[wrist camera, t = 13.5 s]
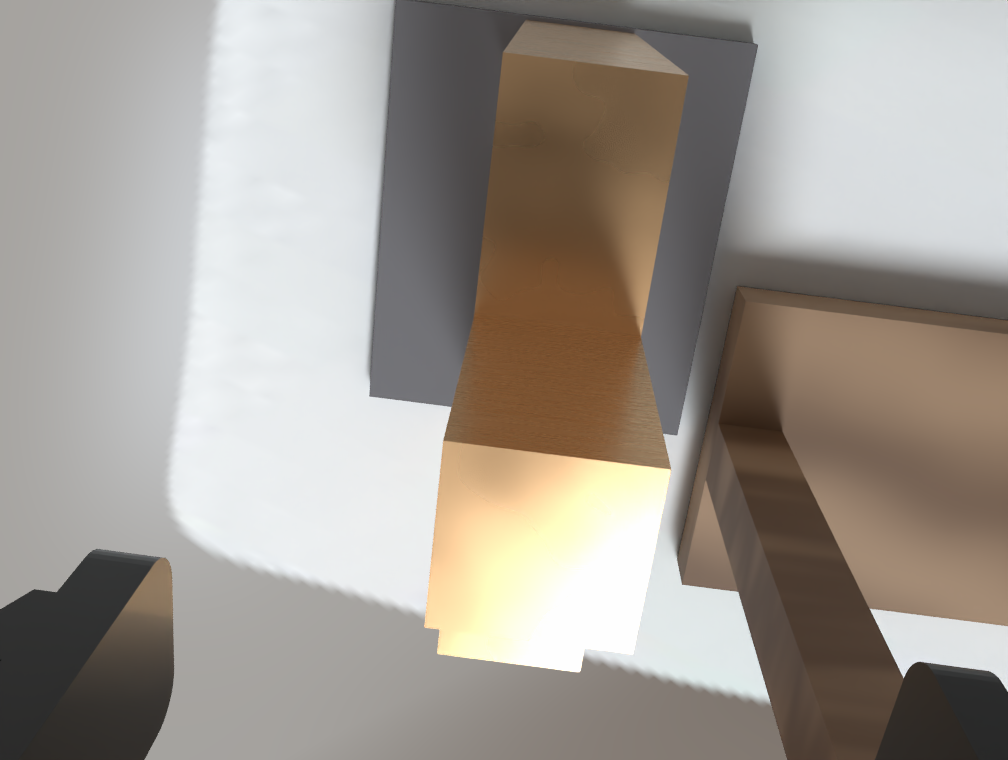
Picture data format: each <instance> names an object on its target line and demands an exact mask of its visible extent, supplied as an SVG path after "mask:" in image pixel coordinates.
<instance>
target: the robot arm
mask: <svg viewBox="0 0 1008 760" xmlns="http://www.w3.org/2000/svg"><path fill="white" fill-rule="evenodd" d="M172 597H173V596H172V572H171V566H170V563H169V561H168V560H167V559H166V558H160V557H153V556H146V555H138V554H131V553H124V552H116V551H109V550H101V549H96V550H93V551H92V552H90V553H89V554H88V555H87V556H86V557H85V558H84V560H83V561H82V562H81V563H80V565H79V566H78V567H77V568H76V570H75V571H74V572H73V573H72V574H71V575H70V577H69V578H68V579H67V581H66V582H65V583H64V584H63V585H62V587H61V588H60V589H59V590H58V592H50V591H42V590H35V589H34V590H32V591H31V592H29V593H27V594H25V595H24V596H22V597H20V598H19V599H17V600H15V601H14V602H12V603H10V604H9V605H7V606H6V607H4V608H2V609H0V760H144V759H145V758H146V756H147V754H148V751H149V750H150V748H151V746H152V744H153V742H154V741H155V739H156V737H157V735H158V733H159V731H160V729H161V726H162V724H163V722H164V719H165V716H166V713H167V709H168V706H169V702H170V697H171V693H172V687H173V678H174V645H173V599H172ZM875 760H1008V692H1007V690H1006V689H1005V687H1004V685H1003V684H1002V682H1001V681H1000V679H999V678H998V677H997V676H996V675H995V674H993V673H992V672H989V671H983V670H976V669H968V668H961V667H954V666H946V665H939V664H931V663H924V662H917V663H915V664H913V665H912V666H911V667H910V668H909V669H908V671H907V673H906V675H905V677H904V680H903V682H902V685H901V688H900V691H899V694H898V696H897V699H896V702H895V705H894V708H893V710H892V713H891V716H890V719H889V722H888V724H887V727H886V730H885V733H884V736H883V738H882V741H881V744H880V747H879V750H878V752H877V755H876V758H875Z"/></svg>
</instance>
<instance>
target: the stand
mask: <svg viewBox="0 0 1008 760" xmlns="http://www.w3.org/2000/svg"><path fill="white" fill-rule="evenodd" d="M677 561H678V566H679V571H680V576H681V581H682V585H690V586H698V587H706V588H713V589H721V590H729V591H737V592H739V596H740V599H741V602H742V606H743V609H744V613H745V616H746V620H747V623H748V626H749V630H750V633H751V637H752V640H753V644H754V647H755V650H756V654H757V657H758V661H759V664H760V668H761V671H762V674H763V678H764V681H765V685H766V688H767V692H768V695H769V698H770V702H771V705H772V709H773V712H774V716H775V719H776V722H777V726H778V729H779V733H780V736H781V740H782V743H783V747H784V750H785V753H786V757H787V760H875V758H876V755H877V752H878V750H879V747H880V744H881V741H882V738H883V736H884V733H885V730H886V727H887V724H888V722H889V719H890V716H891V713H892V710H893V708H894V705H895V702H896V699H897V696H898V694H899V691H900V688H901V685H902V682H903V680H904V678H903V676H902V674H901V672H900V670H899V668H898V666H897V664H896V662H895V660H894V658H893V656H892V654H891V652H890V650H889V648H888V646H887V644H886V642H885V640H884V637H883V635H882V633H881V631H880V629H879V627H878V625H877V623H876V621H875V619H874V617H873V615H872V613H871V611H870V609H878V610H886V611H894V612H902V613H909V614H917V615H925V616H933V617H941V618H949V619H956V620H964V621H972V622H980V623H988V624H996V625H1004V626H1008V320H1001V319H993V318H985V317H977V316H969V315H961V314H953V313H945V312H937V311H930V310H922V309H914V308H906V307H898V306H890V305H882V304H874V303H866V302H858V301H851V300H843V299H835V298H827V297H819V296H811V295H803V294H795V293H787V292H780V291H772V290H764V289H756V288H748V287H740V286H737V289H736V294H735V298H734V303H733V307H732V312H731V317H730V321H729V326H728V330H727V335H726V339H725V344H724V348H723V353H722V358H721V362H720V367H719V371H718V376H717V380H716V385H715V389H714V394H713V399H712V403H711V408H710V412H709V417H708V421H707V426H706V430H705V435H704V440H703V444H702V449H701V453H700V458H699V462H698V467H697V471H696V476H695V480H694V485H693V490H692V494H691V499H690V503H689V508H688V512H687V517H686V521H685V526H684V531H683V535H682V540H681V544H680V549H679V553H678V558H677ZM869 608H870V609H869Z"/></svg>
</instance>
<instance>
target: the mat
mask: <svg viewBox="0 0 1008 760" xmlns="http://www.w3.org/2000/svg"><path fill="white" fill-rule="evenodd" d="M525 20H533V21H540V22H548V23H556V24H564V25H572V26H580V27H588V28H596V29H604V30H612V31H620V32H628V33H635V34H636V35H637V36H639V37H640V38H641V39H642V40H644V41H645V42H646V43H648V44H649V45H650V46H651V47H653V48H654V49H655V50H657V51H658V52H659V53H660V54H662V55H663V56H664V57H666V58H667V59H668V60H669V61H671V62H672V63H673V64H675V65H676V66H677V67H678V68H680V69H681V70H682V71H684V72H685V73H686V74H688V75H689V78H688V83H687V88H686V94H685V99H684V105H683V110H682V116H681V121H680V127H679V132H678V138H677V143H676V149H675V154H674V160H673V165H672V171H671V176H670V182H669V187H668V192H667V198H666V203H665V209H664V214H663V220H662V225H661V231H660V236H659V242H658V247H657V253H656V258H655V264H654V269H653V275H652V280H651V285H650V291H649V296H648V302H647V307H646V313H645V318H644V324H643V329H642V335H641V339H642V344H643V348H644V352H645V357H646V361H647V366H648V370H649V374H650V379H651V383H652V388H653V392H654V396H655V401H656V405H657V410H658V414H659V418H660V423H661V427H662V431H663V434H670V435H677V434H678V429H679V424H680V419H681V414H682V409H683V405H684V400H685V395H686V390H687V385H688V381H689V376H690V371H691V366H692V361H693V356H694V352H695V347H696V342H697V337H698V332H699V327H700V323H701V318H702V313H703V308H704V303H705V299H706V294H707V289H708V284H709V279H710V274H711V270H712V265H713V260H714V255H715V250H716V245H717V241H718V236H719V231H720V226H721V221H722V217H723V212H724V207H725V202H726V197H727V192H728V188H729V183H730V178H731V173H732V168H733V163H734V159H735V154H736V149H737V144H738V139H739V135H740V130H741V125H742V120H743V115H744V110H745V106H746V101H747V96H748V91H749V86H750V81H751V77H752V72H753V67H754V62H755V57H756V53H757V48H758V45H757V44H754V43H747V42H739V41H731V40H723V39H715V38H707V37H699V36H691V35H683V34H675V33H667V32H660V31H652V30H644V29H636V28H628V27H620V26H612V25H604V24H596V23H588V22H580V21H572V20H564V19H556V18H548V17H540V16H532V15H525V14H517V13H509V12H501V11H493V10H485V9H477V8H469V7H461V6H453V5H445V4H437V3H429V2H421V1H413V0H396V6H395V21H394V36H393V51H392V66H391V81H390V96H389V111H388V126H387V141H386V156H385V171H384V186H383V201H382V216H381V231H380V245H379V260H378V275H377V290H376V305H375V320H374V335H373V350H372V365H371V380H370V395H369V396H371V397H379V398H387V399H395V400H403V401H411V402H418V403H426V404H434V405H442V406H450V407H452V404H453V400H454V395H455V391H456V387H457V383H458V379H459V375H460V371H461V367H462V363H463V359H464V355H465V351H466V347H467V343H468V339H469V335H470V331H471V326H472V322H473V318H474V312H475V303H476V294H477V285H478V276H479V266H480V257H481V248H482V239H483V230H484V221H485V212H486V202H487V193H488V184H489V175H490V166H491V157H492V148H493V138H494V129H495V120H496V111H497V102H498V93H499V84H500V74H501V65H502V56H503V51H504V50H505V49H506V47H507V46H508V44H509V43H510V41H511V40H512V39H513V37H514V36H515V34H516V33H517V32H518V30H519V29H520V27H521V26H522V25H523V23H524V22H525Z"/></svg>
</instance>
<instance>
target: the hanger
mask: <svg viewBox="0 0 1008 760" xmlns="http://www.w3.org/2000/svg"><path fill="white" fill-rule="evenodd" d="M688 78H689V75H688V74H686V73H685V72H684V71H682V70H681V69H680V68H678V67H677V66H676V65H675V64H673V63H672V62H671V61H669V60H668V59H667V58H666V57H664V56H663V55H662V54H660V53H659V52H658V51H657V50H655V49H654V48H653V47H651V46H650V45H649V44H648V43H646V42H645V41H644V40H642V39H641V38H640V37H639V36H637V35H636V34H635V33H628V32H620V31H612V30H604V29H596V28H588V27H580V26H572V25H564V24H556V23H548V22H540V21H533V20H525V22H524V23H523V25H522V26H521V27H520V29H519V30H518V32H517V33H516V34H515V36H514V37H513V39H512V40H511V41H510V43H509V44H508V46H507V47H506V49H505V50H504V51H503V56H502V65H501V74H500V84H499V93H498V102H497V111H496V120H495V129H494V138H493V148H492V157H491V166H490V175H489V184H488V193H487V202H486V212H485V221H484V230H483V239H482V248H481V257H480V266H479V276H478V285H477V294H476V303H475V312H474V318H473V322H472V326H471V331H470V335H469V339H468V343H467V347H466V351H465V355H464V359H463V363H462V367H461V371H460V375H459V379H458V383H457V387H456V391H455V395H454V400H453V404H452V408H451V412H450V416H449V420H448V424H447V428H446V432H445V436H444V440H443V449H442V459H441V469H440V479H439V488H438V498H437V508H436V518H435V528H434V538H433V548H432V557H431V567H430V577H429V587H428V597H427V607H426V616H425V626H424V627H425V628H432V629H440V632H439V641H438V650H437V654H442V655H450V656H457V657H466V658H473V659H481V660H489V661H497V662H504V663H512V664H520V665H528V666H536V667H543V668H551V669H559V670H568V671H576V672H580V669H581V663H582V658H583V652H584V648H589V649H597V650H604V651H612V652H620V653H628V654H633V651H634V646H635V642H636V637H637V632H638V627H639V622H640V617H641V613H642V608H643V603H644V598H645V593H646V589H647V584H648V579H649V574H650V569H651V565H652V560H653V555H654V550H655V545H656V540H657V536H658V531H659V526H660V521H661V516H662V512H663V507H664V502H665V497H666V492H667V487H668V483H669V478H670V473H671V467H670V462H669V458H668V453H667V449H666V445H665V440H664V436H663V431H662V427H661V423H660V418H659V414H658V410H657V405H656V401H655V396H654V392H653V388H652V383H651V379H650V374H649V370H648V366H647V361H646V357H645V352H644V348H643V344H642V339H641V335H642V329H643V324H644V318H645V313H646V307H647V302H648V296H649V291H650V285H651V280H652V275H653V269H654V264H655V258H656V253H657V247H658V242H659V236H660V231H661V225H662V220H663V214H664V209H665V203H666V198H667V192H668V187H669V182H670V176H671V171H672V165H673V160H674V154H675V149H676V143H677V138H678V132H679V127H680V121H681V116H682V110H683V105H684V99H685V94H686V88H687V83H688Z"/></svg>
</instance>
